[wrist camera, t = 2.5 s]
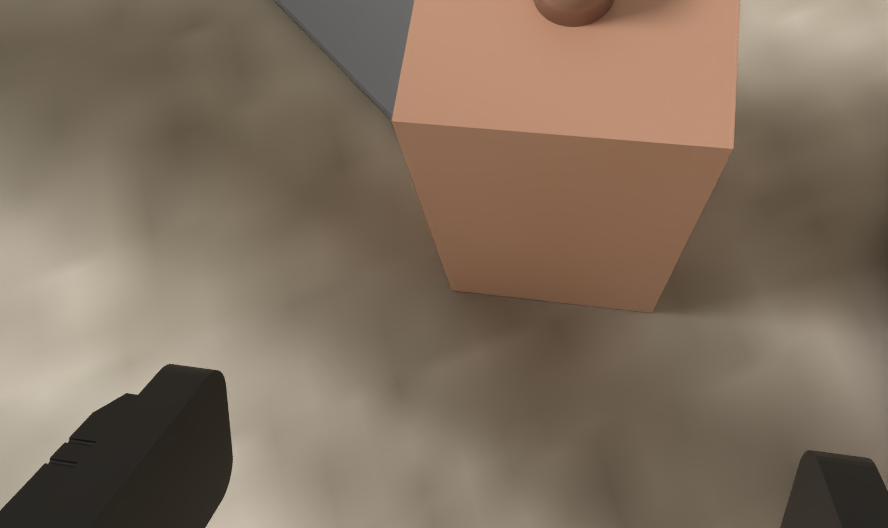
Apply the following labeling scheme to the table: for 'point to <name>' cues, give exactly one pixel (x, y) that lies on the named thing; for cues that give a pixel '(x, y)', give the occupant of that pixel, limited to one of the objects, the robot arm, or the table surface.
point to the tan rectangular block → (567, 139)
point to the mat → (359, 40)
